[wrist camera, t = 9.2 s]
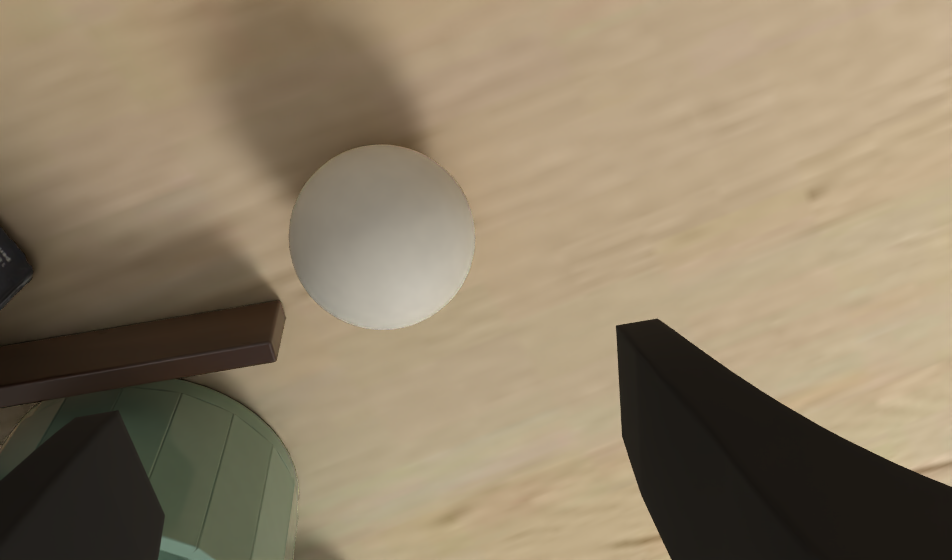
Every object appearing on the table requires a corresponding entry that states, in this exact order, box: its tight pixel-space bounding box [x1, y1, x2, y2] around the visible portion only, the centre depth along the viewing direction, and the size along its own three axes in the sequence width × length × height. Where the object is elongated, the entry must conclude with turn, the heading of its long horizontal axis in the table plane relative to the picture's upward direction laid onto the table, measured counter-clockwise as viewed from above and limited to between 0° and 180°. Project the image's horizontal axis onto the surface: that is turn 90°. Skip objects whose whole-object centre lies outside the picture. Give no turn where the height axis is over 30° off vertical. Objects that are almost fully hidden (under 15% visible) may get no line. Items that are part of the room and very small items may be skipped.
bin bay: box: [0, 300, 286, 408], centre depth 21 cm, size 11×10×2 cm
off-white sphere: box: [289, 144, 475, 330], centre depth 17 cm, size 4×4×4 cm
